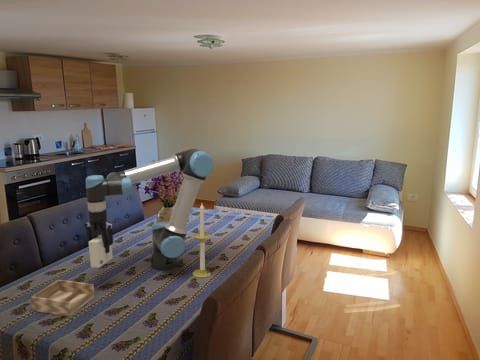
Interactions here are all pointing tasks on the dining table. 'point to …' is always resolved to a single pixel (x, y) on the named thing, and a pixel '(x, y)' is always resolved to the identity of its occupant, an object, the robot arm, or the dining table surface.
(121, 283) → the dining table surface
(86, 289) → the cabinet carcass
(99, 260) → the plain off-white rectangular block
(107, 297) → the dining table surface
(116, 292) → the dining table surface
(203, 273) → the candle
